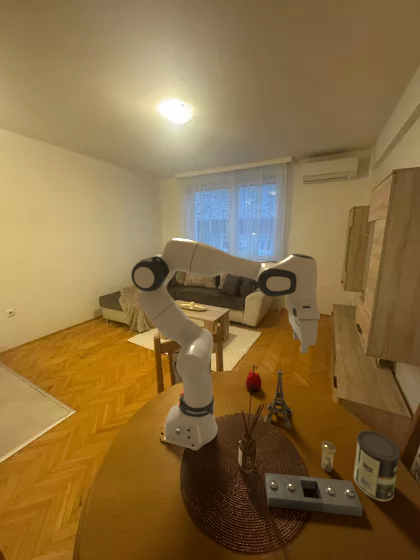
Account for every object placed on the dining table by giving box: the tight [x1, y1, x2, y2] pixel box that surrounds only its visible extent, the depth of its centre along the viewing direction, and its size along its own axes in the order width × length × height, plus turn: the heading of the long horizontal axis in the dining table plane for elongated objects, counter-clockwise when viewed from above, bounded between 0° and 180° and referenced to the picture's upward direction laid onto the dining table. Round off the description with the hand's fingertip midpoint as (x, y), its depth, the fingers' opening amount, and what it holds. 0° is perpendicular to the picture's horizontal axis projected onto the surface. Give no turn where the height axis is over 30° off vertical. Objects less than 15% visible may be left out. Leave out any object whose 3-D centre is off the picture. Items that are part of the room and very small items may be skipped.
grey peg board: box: [264, 472, 364, 517], centre depth 69 cm, size 25×7×4 cm, turn 83°
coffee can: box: [353, 429, 401, 502], centre depth 71 cm, size 10×10×14 cm
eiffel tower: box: [263, 362, 293, 430], centre depth 97 cm, size 10×11×25 cm
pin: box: [320, 440, 336, 473], centre depth 77 cm, size 4×4×8 cm
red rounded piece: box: [245, 363, 262, 392], centre depth 116 cm, size 8×7×15 cm
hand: (299, 345), depth 78 cm, fingers open, 8 cm apart
